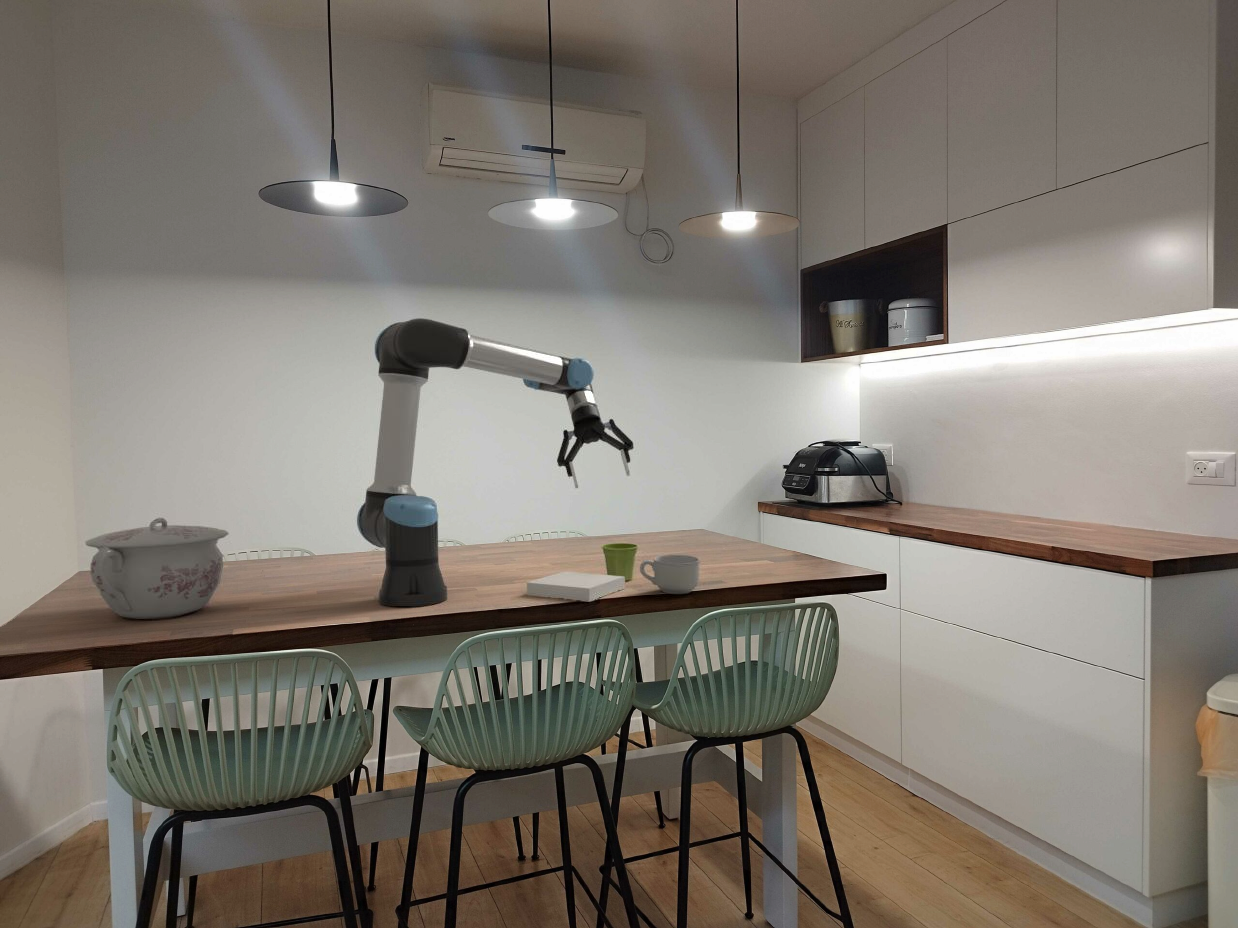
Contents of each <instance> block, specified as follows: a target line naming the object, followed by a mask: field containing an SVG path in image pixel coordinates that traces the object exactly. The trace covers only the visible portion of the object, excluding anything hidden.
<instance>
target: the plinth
mask: <svg viewBox="0 0 1238 928" xmlns="http://www.w3.org/2000/svg"><path fill="white" fill-rule="evenodd" d="M624 588H625V589H626V582H625V577H624V576H612V575H607V574H600V573H599V574H597V573H587V572H576V571H566V570H565V571H561V572H558V573H556V574H551V575H548V576H544V577H540V578H537V579H534V580H530V581H526V596H529V597H531V596H532V597H540V598H541V597H542V598H548V597H550V599H558V598H564V599H563V600H567V599H573V600H572V601H576V600H581V601H580V602H588V603H590V602H593V601H595V599H596V600H598V599H597V598H599V597H602V596H604V595H606V594H609V593H612V592H615V591H618V590H621V589H624ZM625 589H624V590H625ZM621 591H622V590H621ZM604 597H605V596H604ZM602 598H603V597H602ZM599 599H600V598H599Z"/></svg>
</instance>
